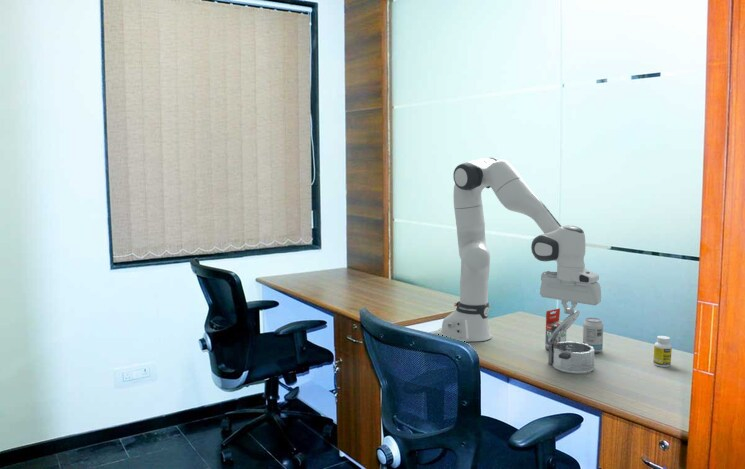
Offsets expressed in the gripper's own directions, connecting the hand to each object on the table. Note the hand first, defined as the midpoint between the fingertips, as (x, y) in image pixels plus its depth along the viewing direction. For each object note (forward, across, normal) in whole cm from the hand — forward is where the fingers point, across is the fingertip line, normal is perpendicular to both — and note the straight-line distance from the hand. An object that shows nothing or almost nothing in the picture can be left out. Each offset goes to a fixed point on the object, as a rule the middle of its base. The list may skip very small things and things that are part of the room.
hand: (568, 313), depth 203 cm
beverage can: (+19, +1, +21) cm, 28 cm away
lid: (+6, -1, 0) cm, 6 cm away
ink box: (+19, -11, +16) cm, 27 cm away
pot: (+18, +2, 0) cm, 19 cm away
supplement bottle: (+18, +25, +21) cm, 38 cm away
